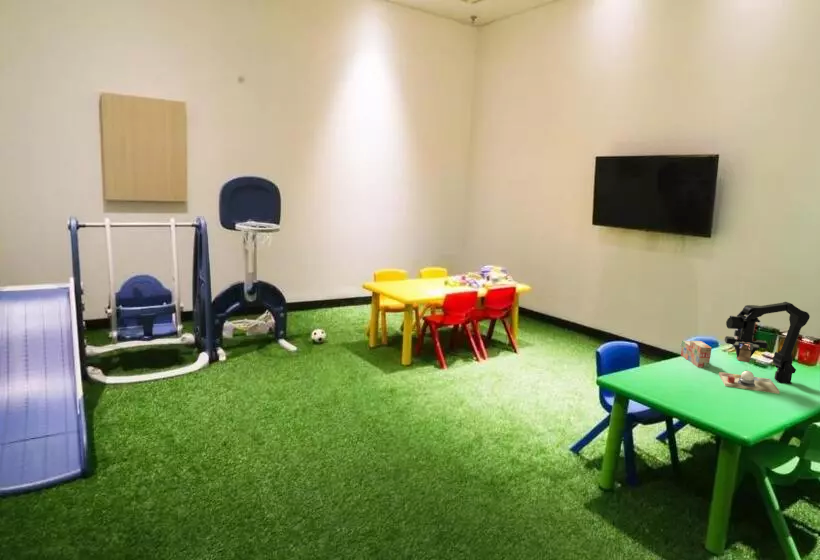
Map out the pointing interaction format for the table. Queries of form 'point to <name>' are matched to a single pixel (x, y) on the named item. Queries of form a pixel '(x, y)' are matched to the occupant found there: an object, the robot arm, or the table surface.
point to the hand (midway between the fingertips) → (743, 357)
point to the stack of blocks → (696, 353)
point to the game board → (758, 385)
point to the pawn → (744, 354)
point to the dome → (747, 377)
